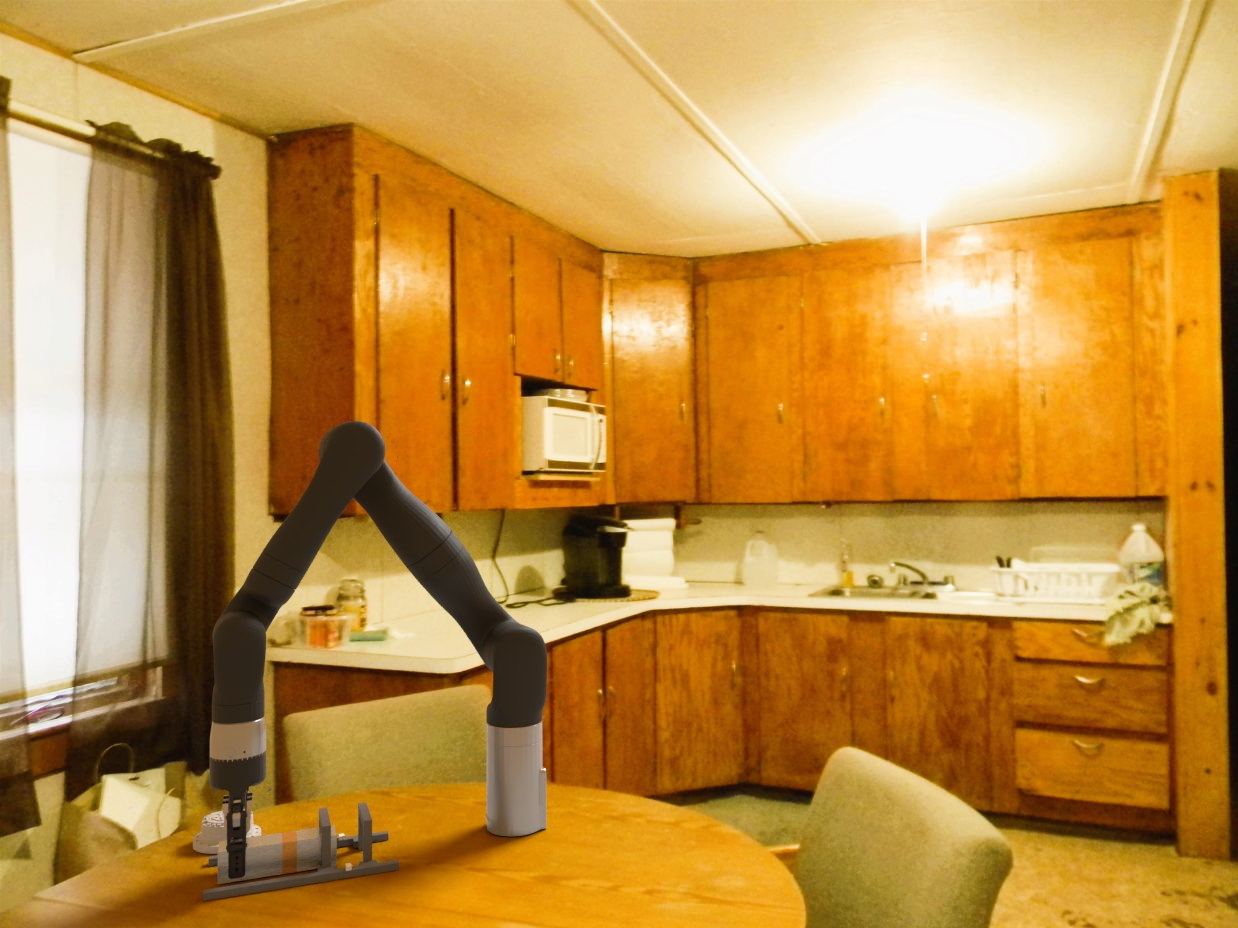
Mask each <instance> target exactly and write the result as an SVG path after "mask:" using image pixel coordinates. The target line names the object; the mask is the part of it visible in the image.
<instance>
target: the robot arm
mask: <svg viewBox="0 0 1238 928" xmlns="http://www.w3.org/2000/svg"><path fill="white" fill-rule="evenodd" d="M385 444H386V443H385V441H384V438H383V436H382V435H381V433H380V431H379V430H378V429H377V428H376V427H375V426H373V425H372V424H369V423H367V422H364V421H361V420H359V421H358V420H353V421H351V420H350V421H345V422H342V423H340V424H338V425H336V426H334V427H333V428H331V429H330V430H328V431H327V432H326V433H325V434H324V435H323V437H322V439H321V441H320V443H319V446H318V457H319V463H318V465H317V467H316V470H315V471H314V474H313V477H312V478H311V480H310V482H309V484H308V486H307V488H306V490H304V493H303V494H302V496H301V497H300V499H299V500H298V502H297V503H296V505H295V506H294V507H293V509H292V510H291V511H290V513H288V516H286V518H284V520H283V522H282V523H281V524H280V525H279V527H278V528H277V529H276V531H275V532H274V534H273V535H272V536H271V538H270V539H269V541H268V542H267V544H266V545H265V546H264V549H263V550H262V552H261V553H260V555H259V556H258V557H257V559H256V560H255V562H254V564H253V565H252V568H251V569H250V571H249V573H248V574H247V576H246V578H245V580H244V582H243V584H242V585H241V587H240V588H239V589H238V591H237V592H236V594H235V595H234V596H233V597H232V599H230V602H229V603H228V604H227V606H226V607H225V609H224V610H223V612H222V613H221V615H220V616H219V617H218V618H217V621H216V622H215V624H214V627H213V629H212V635H211V636H212V638H211V639H212V646H213V647H212V649H213V650H212V651H213V671H214V672H213V674H214V685H213V688H212V689H213V690H212V698H211V728H210V735H209V781H208V782H209V786H210V787H211V788H212V789H214V790H218V791H224V790H225V791H228V794H227V795H226V794H224V795H223V801H222V810H221V811H222V812H223V813H224V833H225V834H226V835H227V846H226V850H227V852H228V877H229V878H230V879H235V878H241V877H244V876H245V855H246V847H247V843H246V835H247V833H248V831H249V830H250V821H251V811H252V809H253V801H254V800H253V796H254V795H253V794H254V792H253V791H250V792H249V790H250V787H256V786H258V785H260V784H262V783H263V782H264V781H265V780H266V778H267V727H266V721H265V719H266V718H265V704H266V703H265V702H266V701H265V698H266V697H265V683H264V676H265V665H266V655H267V653H266V652H267V631H268V629H269V628H270V626H271V624H272V623H273V621H274V619H275V617H276V616H277V614H278V612H279V611H280V609H281V608H282V607H283V606H284V605H286V604H287V603H288V602H289V600H290V599H291V597H292V596H293V595H294V593H295V592H296V590H297V589H298V587H299V585H300V583H302V580H303V579H304V577H305V576H306V574H307V572H308V571H309V568H310V567H311V565H312V564H313V562H314V560H315V559H316V556H317V555H318V553H319V551H320V550H321V548H322V546H323V544H324V543H325V541H326V539H327V537H328V536H329V534H330V532H331V530H332V528H333V527H334V526H335V524H336V523H337V521H338V520H339V518H340V517H341V515H342V514H343V512H345V510H346V508H347V506H348V505H349V504H350V502H352V500H353V499H354V500H355V501H356V503H358V504H359V506H360V507H361V508H362V510H364V511H365V512H366V514H367V515H368V516H369V518H371V521H372V522H373V523H374V524H375V526H376V528H377V529H378V530H379V532H380V533H381V535H382V537H383V538H384V539H385V541H386V542H387V543H388V545H389V546H390V548H391V549H392V550H393V552H394V553H395V554H396V555H397V557H398V558H399V560H400V562H402V563H403V565H404V566H405V567H406V569H407V570H408V571H409V572H410V574H411V575H412V576H413V577H414V578H415V579H416V580H417V582H418V583H419V584H420V585H421V587H422V588H423V589H424V590H425V591H426V592H427V593H428V594H429V595H430V596H431V597H432V598H433V600H435V602H437V604H438V605H439V606H440V607H442V609H443V610H445V611H446V612H447V613H448V614H449V615H450V616H451V617H452V619H453V620H454V621H455V622H456V623H457V624H458V626H459V627H460V628H461V630H462V631H463V632H464V634H465V635H466V637H467V638H468V640H469V642H470V644H472V646H473V647H474V649H475V651H476V652H477V654H478V656H479V657H480V659H481V660H482V661H483V664H484V665H485V666H486V667H487V669H488V670H490V672H492V698H491V701H490V702H489V703H488V705H487V706H486V714H485V715H486V717H485V718H486V720H485V721H486V725H485V726H486V814H485V815H486V817H485V818H486V830H487V832H489V833H491V834H493V835H496V836H501V837H520V836H527V835H531V834H533V833H536V832H538V831H540V830H543V829H547V828H548V827H547V824H548V823H547V822H548V820H547V813H548V812H547V809H548V808H547V803H548V802H547V768H545V767H544V766H543V711H544V707H545V705H546V702H547V701H546V700H547V687H548V686H547V685H548V651H547V645H546V642H545V640H544V638H543V636H542V635H541V634H540V632H538V630H536V629H534V628H532V627H530V626H527V625H525V624H521V623H520V622H518V621H517V620H516V619H515V618H513V616H511V615H510V614H509V612H507V611H506V609H505V608H503V606H502V605H501V604H500V603H499V602H498V600H496V598H495V597H494V596H493V595H492V593H491V592H490V590H489V589H488V587H487V586H486V584H485V581H484V580H483V578H482V575H481V573H480V570H479V569H478V566H477V565H476V563H475V560H474V558H473V557H472V556H471V553H469V550H468V549H467V548H466V547H465V546H464V544H463V543H462V541H461V540H460V539H459V538H458V537H457V535H456V534H455V532H454V531H453V530H452V529H451V528H450V526H449V525H448V524H447V523H446V522H445V521H444V520H443V519H442V518H441V517H440V516H438V514H437V513H436V512H434V511H433V509H431V508H430V507H429V506H428V505H426V504H425V502H423V501H422V500H421V499H419V498H418V497H417V496H416V495H415V494H413V492H411V491H410V490H409V489H408V487H406V486H405V485H404V483H402V481H401V480H400V479H399V477H398V476H397V475H396V473H395V472H394V471H393V469H392V468H391V467H390V465H389V463H388V461H386V459H385V456H386V445H385ZM231 838H232V839H231ZM240 838H242V841H239V842H232V843H231V840H233V839H240Z"/></svg>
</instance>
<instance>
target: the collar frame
mask: <svg viewBox="0 0 1238 928" xmlns="http://www.w3.org/2000/svg"><path fill="white" fill-rule="evenodd" d="M368 806H369V805H368V804H367V802H366V801H364V802H358V803H357V810H358V811H357V835H349V836H345V833H338V837H337V848H342V847H348V846H353V849H358V851H362V861H359V862H358V865H356V866H355V865H354V866H353V864H352V863H351V862H348V863H347V862H346V863H344V865H345V866H344V867H341V868H336V866H331V826H332V825H331V819H330V814H329V809H328V807H320V808H318V827H321V831H322V863H321V868H318V869H317V871H315V872H309V873H304V874H297V875H296V874H295V875H292V876H291V875H290V876H284V877H278V878H272V879H265V880H259V881H252V882H245V883H240V884H233V885H227V886H222V887H214V888H207V889H203V890H202V902H204V901H205V902H206V901H212V900H217V899H218V900H219V899H226V898H230V897H236V896H237V897H238V896H245V895H251V894H256V893H262V892H268V891H269V892H270V891H274V890H275V891H276V890H280V889H286V888H287V889H289V888H293V887H299V886H306V885H312V884H317V883H318V884H319V883H323V882H325V883H326V882H329V881H337V880H342V879H343V880H344V879H348V878H354V877H361V876H369V875H374V874H380V873H385V872H393V871H398V870H399V871H400V861H399V859H393V860H388V861H387V860H386V861H380V862H378V860H377V859H373V843H375V842H376V843H378V842H383V841H388V840H389V831H388V830H386V831H385V830H384V831H377V832H373V818H372V815H371V813H370V810H369V807H368ZM207 862H208V867H214V866H218V854H215V855H209V856H208V861H207Z"/></svg>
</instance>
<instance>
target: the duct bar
mask: <svg viewBox="0 0 1238 928" xmlns="http://www.w3.org/2000/svg"><path fill="white" fill-rule="evenodd" d="M337 838H338V834H337V830H336V825H335V824H333V825H331V866H335V867H336V866H337V865H338V862H337V861H338V860H337V859H338V858H337V857H338V854H337V853H338V851H337V850H338V847H337ZM239 841H242V838H240V839H233V840H231V843H232V842H239ZM246 843H247V847H246V855H245V876H244V877H241V878H235V879H230V878H229V877H228V852H227V850H226V846H227V840H226V841H219V847H218V854H217V855H218V865H217V882H216V883H217V885H222V884H229V883H235V882H240V881H247V880H248V881H249V880H253V879H259V878H267V877H272V876H278V875H279V876H280V875H286V874H292V873H298V872H304V871H310V870H316V869H317V870H318V868H321V863H322V831H321V827H319V826H318V827H312V828H305V829H299V830H292V831H291V830H290V831H284V832H277V833H270V834H261V836H254V837H247V838H246Z"/></svg>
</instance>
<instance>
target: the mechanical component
mask: <svg viewBox="0 0 1238 928" xmlns="http://www.w3.org/2000/svg"><path fill="white" fill-rule="evenodd" d="M200 825H201V830H200V832H198V833H197V834H195V835H194V837H193V839H192V850H194V851H195V852H197V853H200V854H209V855H214V854H215V855H218V847H219V841H226V840H227V835H226V834H225V833H224V813H223V812H222V810H219V811H215V812H211V813H210V814H206V815H205V816H204V817H203V818H202V820H201V824H200ZM254 836H262V828H261V826H259V825H257V824H254V814H253V811H252V810H251V821H250V830H249V831H248V833H247V835H246V838H247V837H254ZM231 839H232V838H231Z"/></svg>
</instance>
